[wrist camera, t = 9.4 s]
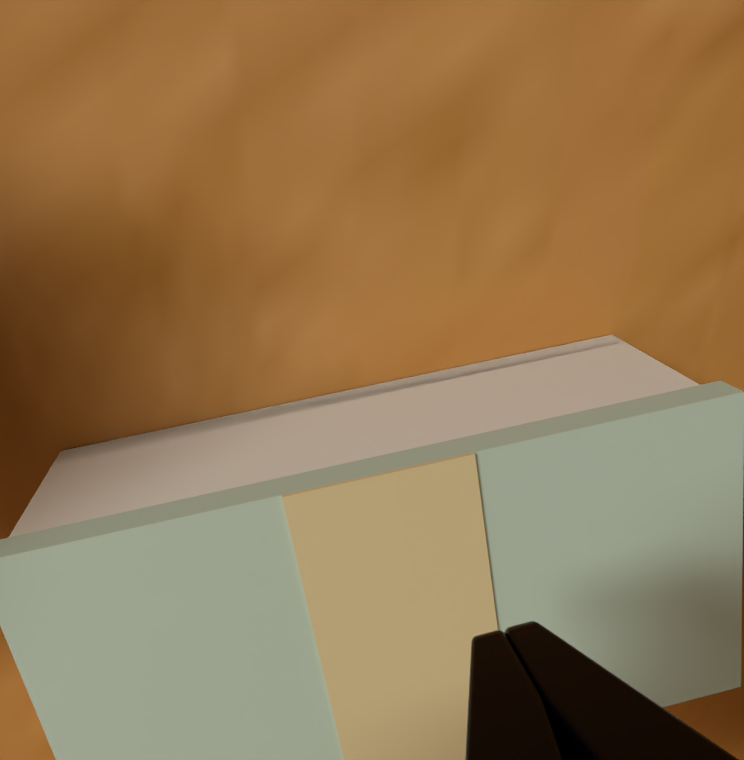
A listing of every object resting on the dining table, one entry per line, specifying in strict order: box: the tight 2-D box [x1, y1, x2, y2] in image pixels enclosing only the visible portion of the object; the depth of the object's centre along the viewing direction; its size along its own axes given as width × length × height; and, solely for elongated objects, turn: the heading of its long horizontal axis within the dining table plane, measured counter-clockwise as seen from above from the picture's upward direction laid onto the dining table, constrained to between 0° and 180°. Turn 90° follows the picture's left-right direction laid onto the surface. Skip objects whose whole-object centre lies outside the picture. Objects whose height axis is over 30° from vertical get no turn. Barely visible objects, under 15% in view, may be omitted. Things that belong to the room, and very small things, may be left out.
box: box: [8, 335, 699, 538], centre depth 19 cm, size 16×8×5 cm, turn 100°
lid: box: [0, 380, 744, 760], centre depth 16 cm, size 16×8×1 cm, turn 100°
